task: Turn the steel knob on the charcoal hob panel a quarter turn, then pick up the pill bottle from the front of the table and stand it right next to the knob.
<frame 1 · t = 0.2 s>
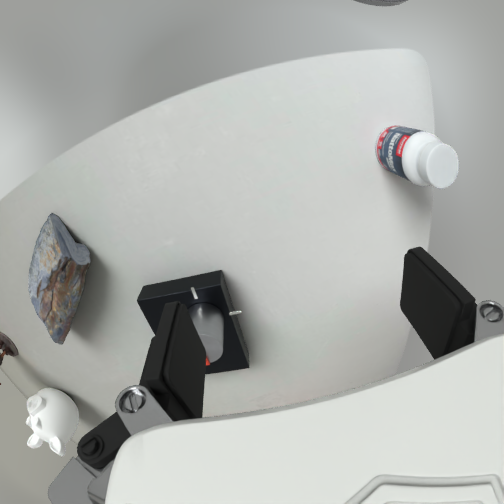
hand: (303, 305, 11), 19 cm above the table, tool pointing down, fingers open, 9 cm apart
figurine: (7, 346, 39), on the table
hob panel: (198, 322, 36), on the table
knob: (202, 334, 29), point 6 cm above the table, hinge at 0.0°
stone: (59, 275, 32), on the table
pill bottle: (393, 148, 27), on the table
piggy bank: (60, 392, 45), on the table
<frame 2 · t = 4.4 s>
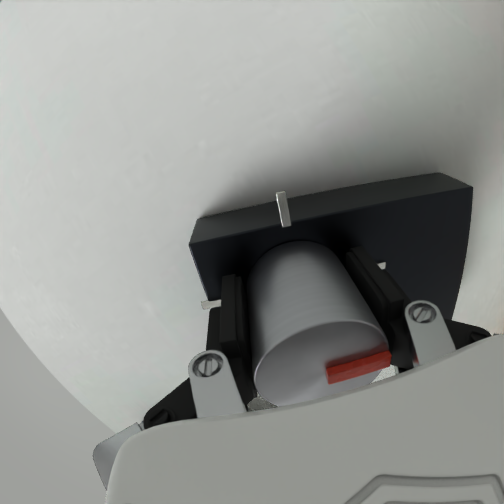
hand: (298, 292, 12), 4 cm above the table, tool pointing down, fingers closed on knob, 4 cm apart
hob panel: (341, 272, 16), on the table
knob: (309, 325, 10), point 6 cm above the table, hinge at 0.1°, touching gripper
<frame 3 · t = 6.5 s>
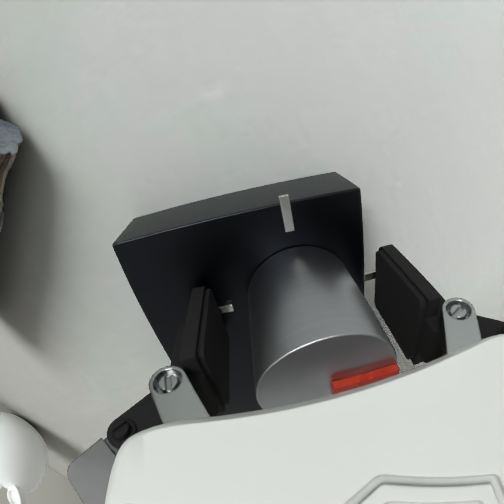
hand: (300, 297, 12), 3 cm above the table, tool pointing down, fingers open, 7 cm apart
hob panel: (261, 310, 16), on the table
knob: (313, 334, 10), point 6 cm above the table, hinge at 88.0°
piggy bank: (22, 419, 25), on the table
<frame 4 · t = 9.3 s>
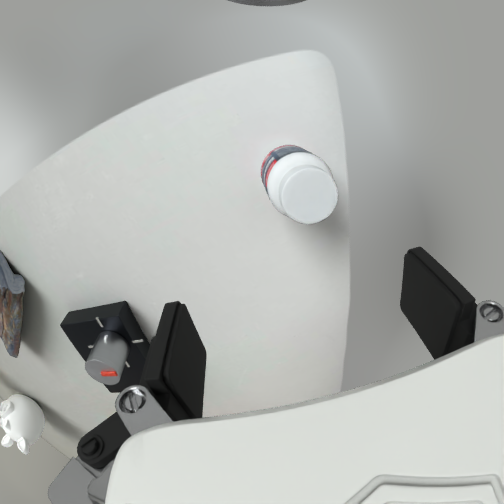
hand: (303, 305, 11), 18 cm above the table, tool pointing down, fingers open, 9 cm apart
hob panel: (118, 345, 35), on the table
knob: (107, 358, 29), point 6 cm above the table, hinge at 88.0°
stone: (9, 299, 32), on the table
pill bottle: (287, 171, 27), on the table
piggy bank: (29, 399, 44), on the table
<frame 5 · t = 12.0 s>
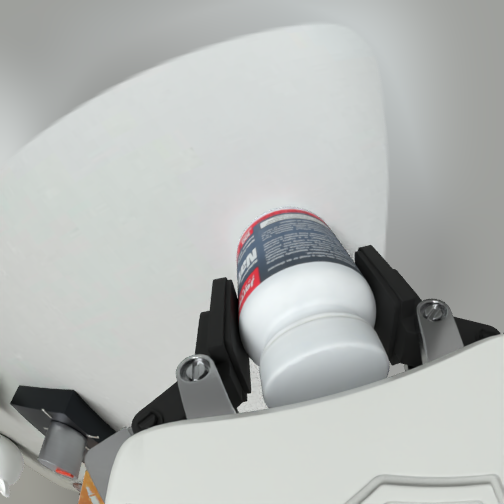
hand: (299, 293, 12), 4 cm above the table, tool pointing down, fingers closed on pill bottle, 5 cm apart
small box: (105, 478, 37), on the table
hob panel: (79, 423, 24), on the table
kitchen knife: (80, 487, 46), on the table
knob: (62, 452, 18), point 6 cm above the table, hinge at 88.0°
pill bottle: (284, 250, 16), on the table, touching gripper
piggy bank: (7, 437, 33), on the table
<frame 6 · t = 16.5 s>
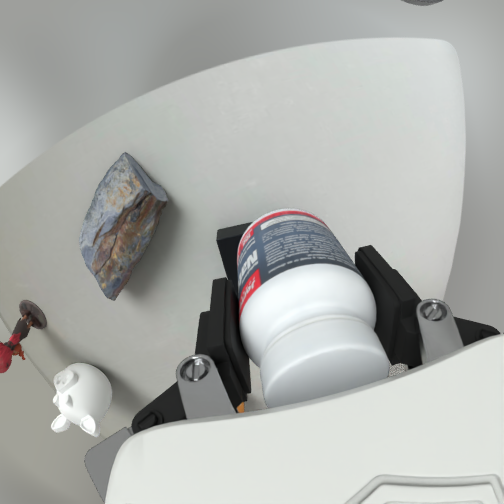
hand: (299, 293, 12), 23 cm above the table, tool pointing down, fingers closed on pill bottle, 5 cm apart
figurine: (33, 318, 40), on the table
hob panel: (268, 269, 38), on the table
stone: (120, 222, 34), on the table
pill bottle: (285, 251, 16), point 19 cm above the table, touching gripper
piggy bank: (90, 369, 46), on the table
when the fingers open (4 cm above the table, at t = 21.0 s): pill bottle stays where it is, on the table.
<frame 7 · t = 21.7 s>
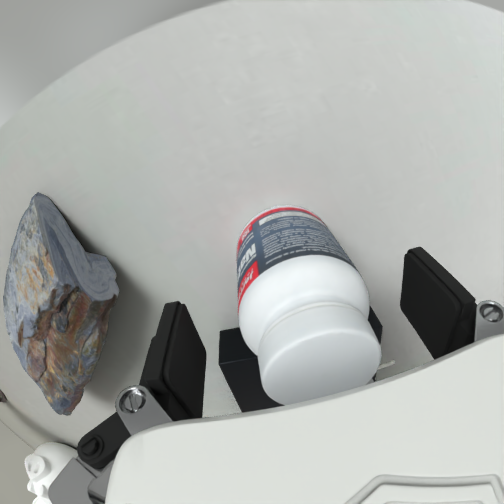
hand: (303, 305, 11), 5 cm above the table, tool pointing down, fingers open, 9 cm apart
hob panel: (303, 377, 21), on the table
knob: (347, 410, 15), point 6 cm above the table, hinge at 88.0°
stone: (56, 308, 17), on the table
pill bottle: (282, 246, 16), on the table
piggy bank: (67, 445, 30), on the table
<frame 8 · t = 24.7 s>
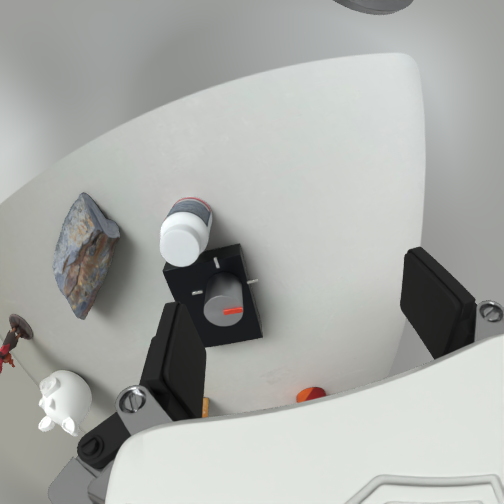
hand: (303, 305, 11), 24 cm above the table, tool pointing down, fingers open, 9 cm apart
figurine: (21, 329, 43), on the table
hob panel: (216, 294, 40), on the table
knob: (223, 299, 34), point 6 cm above the table, hinge at 88.0°
stone: (85, 252, 36), on the table
pill bottle: (191, 215, 35), on the table
coffee cup: (310, 394, 53), on the table
piggy bank: (73, 375, 49), on the table
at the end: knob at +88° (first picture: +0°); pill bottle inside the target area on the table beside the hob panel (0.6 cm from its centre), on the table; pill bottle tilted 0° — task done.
